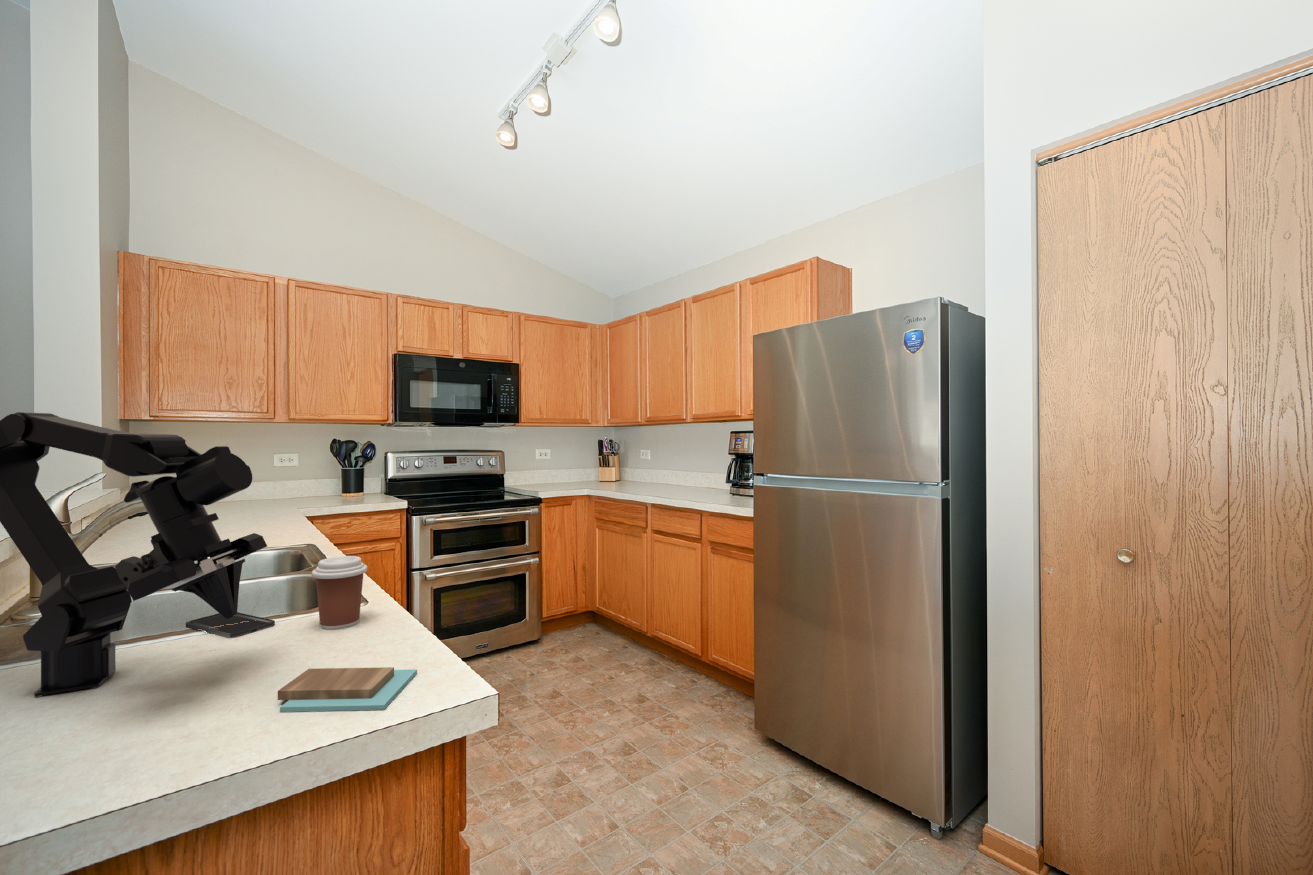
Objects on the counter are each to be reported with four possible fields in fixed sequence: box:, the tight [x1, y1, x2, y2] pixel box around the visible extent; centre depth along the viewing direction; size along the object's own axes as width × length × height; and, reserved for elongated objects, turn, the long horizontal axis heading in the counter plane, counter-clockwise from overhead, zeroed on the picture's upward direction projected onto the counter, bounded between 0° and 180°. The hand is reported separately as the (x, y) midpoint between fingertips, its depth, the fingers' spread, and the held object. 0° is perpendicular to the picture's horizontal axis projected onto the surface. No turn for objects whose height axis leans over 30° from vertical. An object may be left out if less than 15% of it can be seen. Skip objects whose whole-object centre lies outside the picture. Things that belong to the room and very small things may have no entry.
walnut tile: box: [277, 666, 395, 701], centre depth 77 cm, size 1×7×12 cm
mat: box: [279, 669, 418, 713], centre depth 77 cm, size 13×11×1 cm
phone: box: [185, 611, 276, 639], centre depth 103 cm, size 8×1×15 cm
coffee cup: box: [311, 555, 368, 631], centre depth 104 cm, size 9×9×12 cm
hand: (231, 616), depth 79 cm, fingers closed
